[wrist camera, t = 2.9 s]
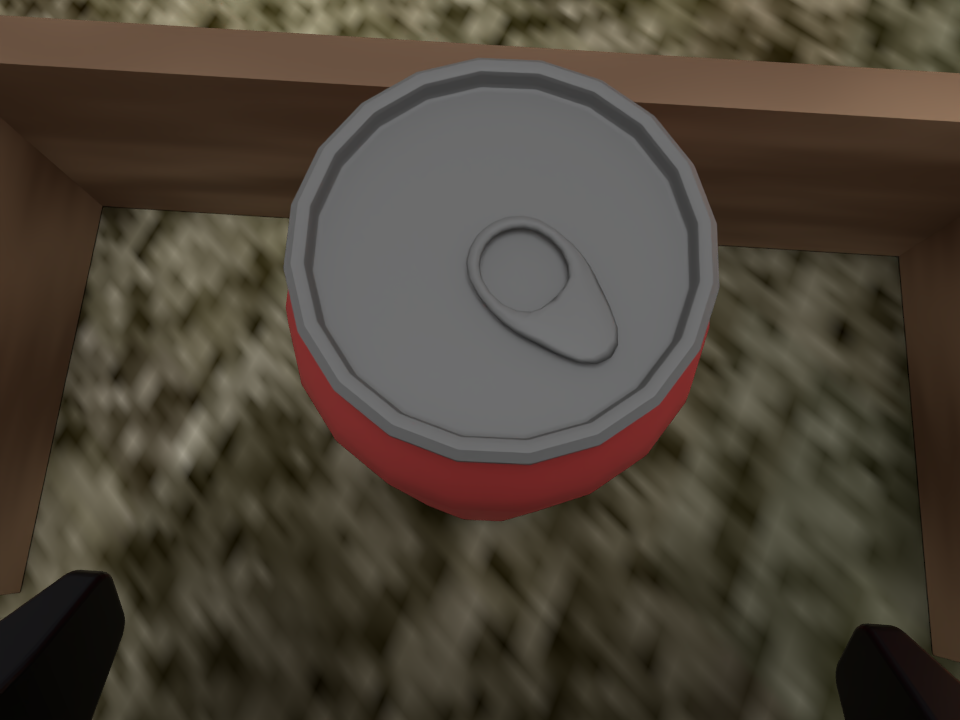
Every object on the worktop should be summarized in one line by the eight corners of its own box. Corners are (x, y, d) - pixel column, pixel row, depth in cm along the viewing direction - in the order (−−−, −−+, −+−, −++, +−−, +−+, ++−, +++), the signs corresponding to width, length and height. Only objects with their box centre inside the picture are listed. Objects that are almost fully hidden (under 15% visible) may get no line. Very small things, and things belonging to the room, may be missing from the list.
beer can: (480, 572, 19) (486, 635, 8) (329, 399, 20) (135, 225, 9) (645, 414, 20) (872, 259, 9) (493, 259, 22) (515, -62, 10)
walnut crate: (969, 657, 19) (1319, 746, 11) (-17, 590, 19) (-355, 630, 11) (927, 222, 22) (1176, 52, 14) (78, 169, 22) (-137, -27, 14)
